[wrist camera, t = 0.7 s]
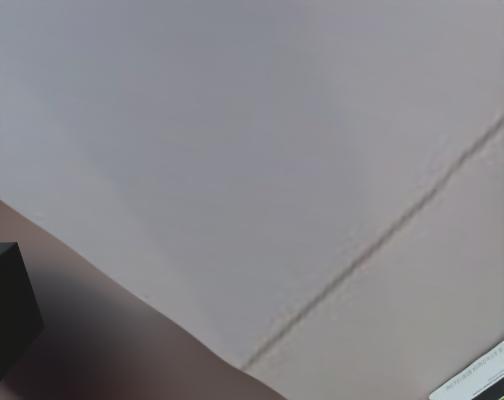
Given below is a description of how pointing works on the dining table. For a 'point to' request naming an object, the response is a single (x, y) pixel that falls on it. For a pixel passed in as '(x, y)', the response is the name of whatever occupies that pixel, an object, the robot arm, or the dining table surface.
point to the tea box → (477, 380)
